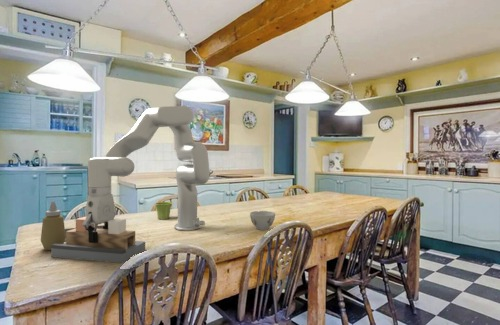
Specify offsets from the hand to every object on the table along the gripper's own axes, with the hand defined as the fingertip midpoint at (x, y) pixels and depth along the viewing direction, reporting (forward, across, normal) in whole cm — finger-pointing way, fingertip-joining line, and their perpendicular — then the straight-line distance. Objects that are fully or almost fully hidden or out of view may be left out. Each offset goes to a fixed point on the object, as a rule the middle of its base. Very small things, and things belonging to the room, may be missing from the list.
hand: (100, 239), depth 105 cm
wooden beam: (+2, 0, 0) cm, 2 cm away
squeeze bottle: (+5, +1, +21) cm, 22 cm away
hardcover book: (+6, +18, +25) cm, 31 cm away
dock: (+5, 0, 0) cm, 5 cm away
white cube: (-3, 0, -7) cm, 7 cm away
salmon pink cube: (-3, 0, +6) cm, 7 cm away
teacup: (+6, +48, -53) cm, 72 cm away
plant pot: (+6, +57, +4) cm, 57 cm away
